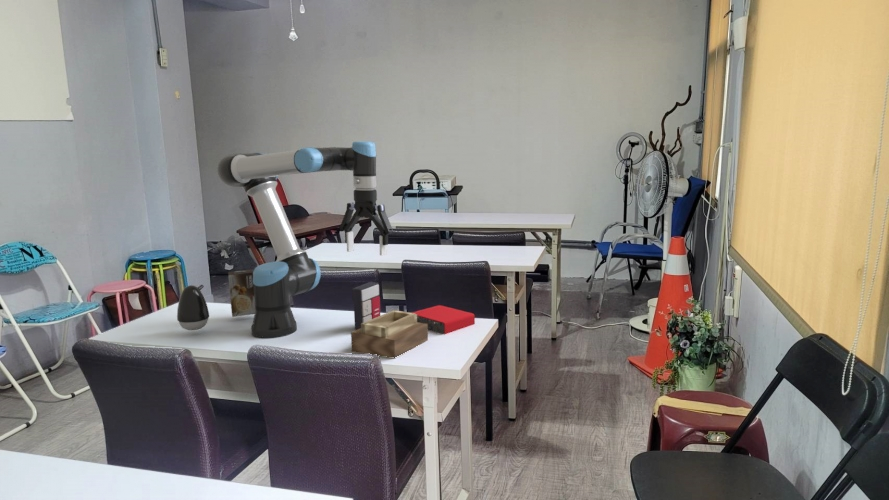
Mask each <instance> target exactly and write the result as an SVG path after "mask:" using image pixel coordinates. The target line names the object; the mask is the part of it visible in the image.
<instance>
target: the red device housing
mask: <svg viewBox="0 0 889 500" xmlns="http://www.w3.org/2000/svg"><path fill="white" fill-rule="evenodd" d="M411 313H416V314H417V322H418V323H424V324H427V325H428V330H429V331H433V332H435V333H442V334H444V335H448V334H449V333H453V332H456V331H458V330H462V329H465V328H468V327H470V326H473V325H475V323H476V322H475V321H476V319H475V317H476V316H475V314H474V313H472V312H468V311H464V310H461V309H457V308H453V307H448V306H446V305H445V306H444V305H442V304H441V305H440V304H438V305H435V306H431V307H427V308H424V309H420V310H416V311H412V312H411Z"/></svg>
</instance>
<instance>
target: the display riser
mask: <svg viewBox="0 0 889 500" xmlns="http://www.w3.org/2000/svg"><path fill="white" fill-rule="evenodd" d="M428 330H429V329H428V325H427V324H424V323H418V322H417V314H416V313H412V312H407V311H401V310H394V309H393V310H390V311H389V312H386V313H384V314H380V316H379V317H376V318H374V319H371V320H369V321H367V322H364V323H362V324H361V328H360V329H358V330H355V329H354V330H353V331H351V332H350V336H351V337H350V339H351V352H353V353H359V354H364V353H370V354H377V355H380V356H379V357H382V356H387V357H386V358H389V357H394V358H393V359H396V358H395V357H397V356H399V355H401V354H402V355H404V354H406V353H408V352H409V350H410V351H412V350H413V349H415V348H417V347H418V345H419V346H420V345H422V344H424V343H426V342H427V341H428V340H429V339H428V337H429V333H428V332H429V331H428ZM416 346H417V347H416ZM407 351H408V352H407ZM405 352H406V353H405ZM403 353H404V354H403ZM370 354H369V355H370ZM402 355H401V356H402ZM399 357H400V356H399ZM397 358H398V357H397Z"/></svg>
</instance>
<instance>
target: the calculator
mask: <svg viewBox="0 0 889 500" xmlns="http://www.w3.org/2000/svg"><path fill="white" fill-rule="evenodd" d="M351 300H352V302H353V313H354V315H353V316H354V331H355V330H358V329H360V328H361V324H362V323H364V322H367V321H369V320H371V319H374V318H376V317H379V316H381V296H380V285H379V282H374V281H368V282H366V283H364V284H361V285H358V286H355V287H352V288H351Z"/></svg>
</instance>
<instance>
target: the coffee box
mask: <svg viewBox="0 0 889 500" xmlns="http://www.w3.org/2000/svg"><path fill="white" fill-rule="evenodd" d="M253 271H254V269H246V270H236V271H234V270H232V271H228V272H227V276H228V278H227V279H228V285H229V287H228V288H229V297H230V309H231V310H230V311H231V316H232V317H233V318H234V317H242V316H243V317H244V316H249V315H255V299H254V288H253Z"/></svg>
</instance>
